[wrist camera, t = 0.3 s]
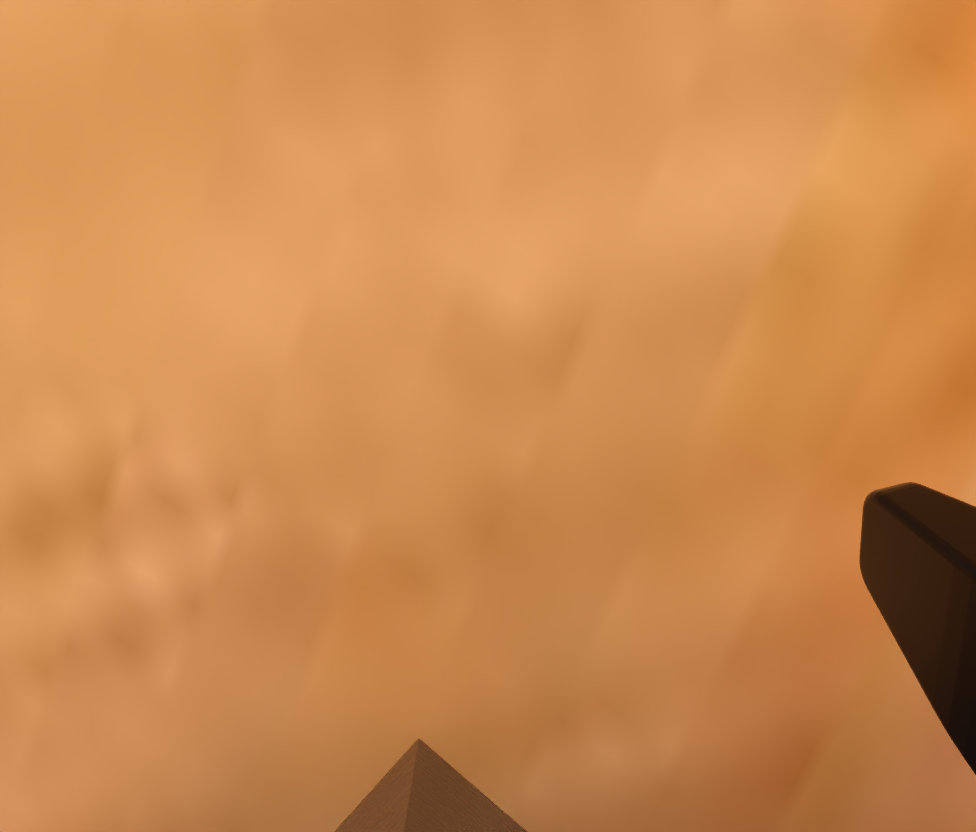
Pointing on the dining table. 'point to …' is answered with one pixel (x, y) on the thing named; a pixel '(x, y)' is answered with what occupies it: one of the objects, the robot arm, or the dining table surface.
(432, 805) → the bracket
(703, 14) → the dining table surface
